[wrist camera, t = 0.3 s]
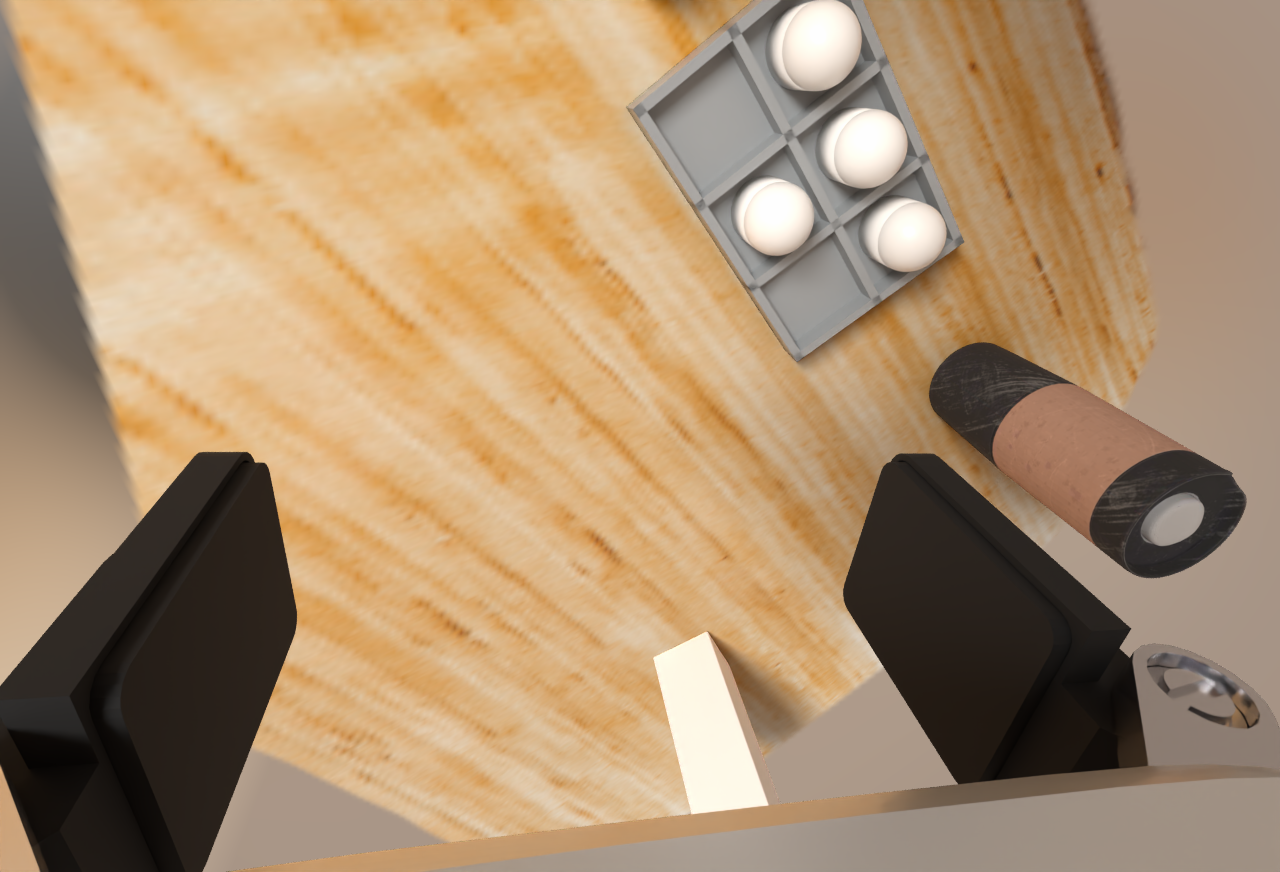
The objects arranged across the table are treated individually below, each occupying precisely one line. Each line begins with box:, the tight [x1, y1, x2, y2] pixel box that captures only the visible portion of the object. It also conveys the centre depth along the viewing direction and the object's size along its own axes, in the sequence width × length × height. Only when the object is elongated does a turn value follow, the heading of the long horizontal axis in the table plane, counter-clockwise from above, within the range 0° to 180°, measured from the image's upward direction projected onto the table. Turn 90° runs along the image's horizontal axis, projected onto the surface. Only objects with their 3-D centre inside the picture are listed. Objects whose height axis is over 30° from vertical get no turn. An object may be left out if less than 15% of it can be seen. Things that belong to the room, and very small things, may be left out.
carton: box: [626, 0, 964, 362], centre depth 40 cm, size 20×14×6 cm
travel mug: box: [929, 343, 1246, 578], centre depth 45 cm, size 8×8×20 cm
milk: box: [654, 632, 780, 814], centre depth 55 cm, size 6×6×22 cm
